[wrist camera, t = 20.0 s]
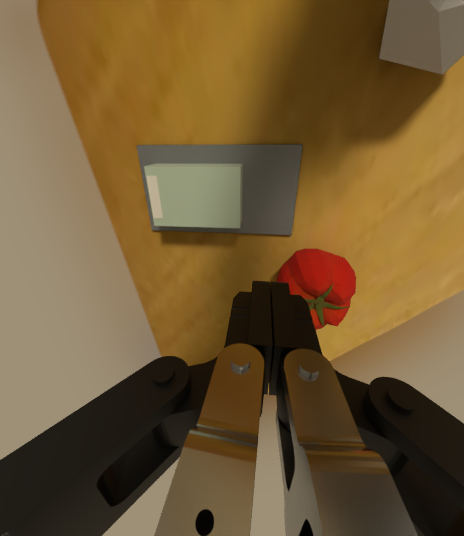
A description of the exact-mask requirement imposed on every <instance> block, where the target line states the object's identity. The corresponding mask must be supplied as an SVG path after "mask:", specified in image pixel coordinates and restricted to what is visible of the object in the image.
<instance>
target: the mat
mask: <svg viewBox="0 0 464 536" xmlns="http://www.w3.org/2000/svg"><path fill="white" fill-rule="evenodd" d="M302 146H303V145H302V144H291V145H137V150H138V155H139V161H140V166H141V172H142V178H143V183H144V189H145V194H146V200H147V205H148V211H149V216H150V222H151V227H152V230H161V231H190V232H218V233H247V234H275V235H291V234H292V226H293V218H294V210H295V202H296V194H297V186H298V178H299V170H300V162H301V154H302ZM152 164H243V193H242V222H241V227H240V228H212V227H179V226H154V221H153V215H152V209H151V203H150V198H149V192H148V186H147V181H146V175H145V169H144V166H148V165H152Z"/></svg>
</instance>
